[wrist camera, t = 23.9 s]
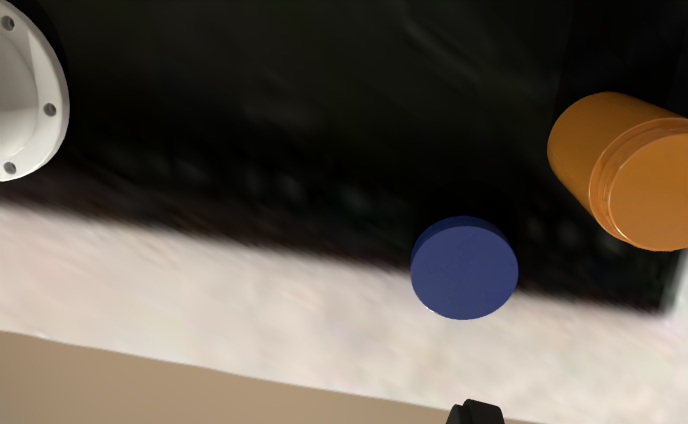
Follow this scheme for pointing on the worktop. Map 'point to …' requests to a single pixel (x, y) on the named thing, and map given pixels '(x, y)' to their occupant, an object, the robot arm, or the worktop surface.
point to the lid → (463, 268)
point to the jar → (626, 167)
